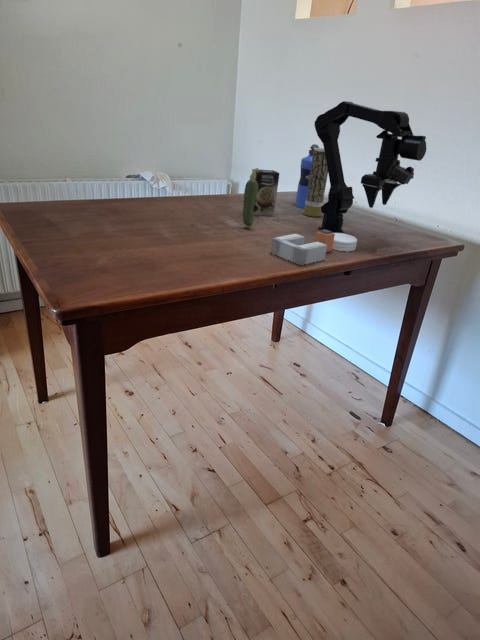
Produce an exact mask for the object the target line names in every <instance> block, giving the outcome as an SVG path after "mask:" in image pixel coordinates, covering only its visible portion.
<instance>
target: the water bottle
mask: <svg viewBox="0 0 480 640" xmlns="http://www.w3.org/2000/svg"><path fill="white" fill-rule="evenodd" d="M314 148H320V147H319V145H318V144H315V143H314V144H312V145H310V149H308V155H307V156H305V157H303V158H301V161H300V177H299V181H298V184H297V191H296V197H295V204H294V206H296V207H297V208H301V209H304V208H305V201H306V195H307V189H308V182H309V176H310V170H311V163H312V157H313V150H314Z"/></svg>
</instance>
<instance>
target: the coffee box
mask: <svg viewBox="0 0 480 640" xmlns="http://www.w3.org/2000/svg"><path fill="white" fill-rule="evenodd" d="M254 169H255V168H252V169H251V173H252V172H253V171H254ZM258 170H259V173H258V172H256V179H255V180H256V181H257V183H258V192H257V196H256V200H255V202H254V208H253V216H267V217H270V216H273V217H274V216H275V211H276V210H275V209H276V202H277V201H276V200H277V196H278V195H277V193H278V186H279V180H280V172H278V171H277V170H273V169H272V170H271V169H270V170H269V169H258Z"/></svg>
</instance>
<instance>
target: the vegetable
mask: <svg viewBox="0 0 480 640" xmlns="http://www.w3.org/2000/svg"><path fill="white" fill-rule="evenodd" d="M253 169H254V171H253V172H252V171H251V174H250V176H249V180H248V181H247V182H246V184H245V187H244V191H243V192H244V193H243V194H244V195H243V207H242V220H243V224H244V226H246V228H247V229H251V227H252V226H253V224H254V215H253V208H254V202H255V200H256V196H257V192H258V183H257V181H256V180H255V179H256V172H258V173H259V170H260V169H259V168H258V167H257V168H256V167H255V168H253Z"/></svg>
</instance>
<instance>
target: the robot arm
mask: <svg viewBox="0 0 480 640" xmlns="http://www.w3.org/2000/svg"><path fill="white" fill-rule="evenodd" d="M349 117H352V118H355V119H359V120H362V121H364V122H369V123H373V124H375V125H377V127H379V128H380V129H382V131H381V132H380V133H379V134H377V135H376V138H377V139H381V144H380V145H381V146H380V150H379V155H378V157H376V158H375V162H377V164H376V170H375V171H373V172H372V173H366V174H364V175H362V176H361V178H360V184H361V185H362V187H363V189H364V193H365V196H366V199H367V204H368V207H369V208H371V209H373V208H374V205H375V203H376V199H377V197H378V194H379V192H380V191H381V203H382V205H383V206H385V205H387V204H388V201H389V200H390V198H391V196H392V194H393V193H394V191H395V189H397V188H399V187H400V186H401V185H405V184H406V185H408V184H409V183H410V181H411V180H412V179H414V175H415V173H414V172H415V171H414V170H415V168H414V167H412V166H407V167H406V168H405V167H403V166H401V160H400V159H399V156H400V158H401V159H406V160H407V159H408V160H411V161H419V162H420V161H422V160H423V158H424V157H425V155H426V152H427V142H426V138H427V137H426V136H425V135H414V134H413V133H414V132H413V131H412V128H411V125H410V117H409V114H408V112H407V113H406V112H405V111H396V110H380V109H376V108H372V107H368V106H365V105H361V104H357V103H354V102H352V101H344V100H343V101H341V102H340V103H338V104H337V105H336V106H334V107H332V108H331V109H329V110H327V111H325V112H324V113H322V114H319V115H318V116H317V117H316V118H315V120H314V128H315V131H316V135H317V137H318V138H319V140H320V142H321V143H322V145H323V148H324V151H325V157H326V163H327V168H328V178H329V185H330V187H329V191H328V194H327V200H328V201H326V202H325V203H323V205H322V206H321V214H323V215H322V216H323V217H322V222H321V226H319V227H318V228H317V229H318V230H325V229H326V230H329V231H332V232H331V233H342V232H344V230H343V229H342V228H343V224H344V219H343V217H344V214H347V212H348V210H349V209H350V208H351V207H352V205H353V204H354V199H355V197H354V194H353V187H352V186H348V185H347V184H346V181H345V177H344V171H343V164H342V159H341V152H340V149H339V148H340V147H339V138H340V137H339V136H340V134H341V126H342V125H343V124H344V123H345V122H346V121H347V120H348V118H349Z"/></svg>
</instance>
